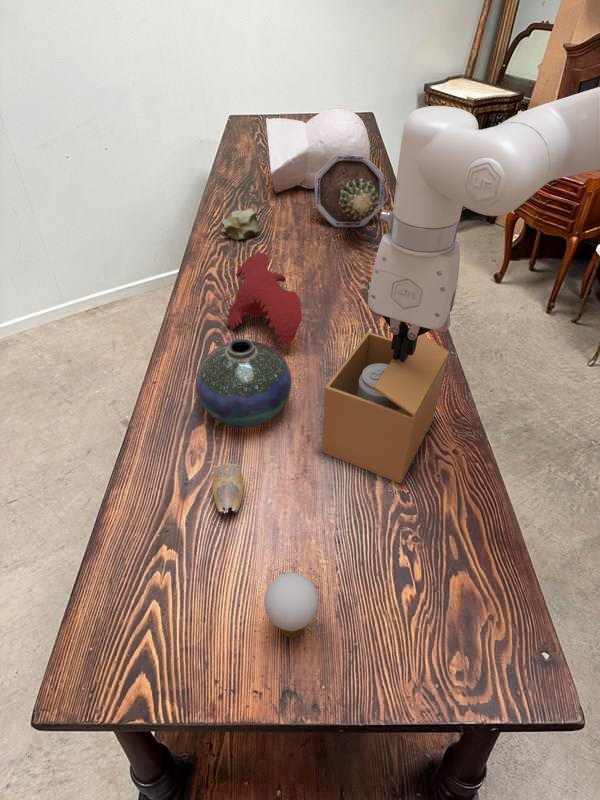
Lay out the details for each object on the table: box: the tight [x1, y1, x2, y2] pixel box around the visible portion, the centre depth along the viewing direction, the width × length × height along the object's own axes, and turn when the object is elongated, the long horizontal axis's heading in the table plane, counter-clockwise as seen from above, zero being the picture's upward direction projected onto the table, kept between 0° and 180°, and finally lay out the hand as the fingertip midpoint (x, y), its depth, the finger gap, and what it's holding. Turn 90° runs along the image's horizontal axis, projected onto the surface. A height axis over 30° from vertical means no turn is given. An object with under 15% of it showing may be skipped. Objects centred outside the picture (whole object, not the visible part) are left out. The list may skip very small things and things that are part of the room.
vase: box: [195, 338, 293, 429], centre depth 86 cm, size 15×15×13 cm
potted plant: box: [314, 154, 385, 229], centre depth 135 cm, size 18×18×30 cm
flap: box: [373, 334, 450, 416], centre depth 75 cm, size 6×15×1 cm, turn 151°
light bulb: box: [263, 572, 319, 639], centre depth 60 cm, size 6×6×10 cm
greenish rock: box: [221, 207, 263, 241], centre depth 136 cm, size 9×9×8 cm
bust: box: [265, 107, 371, 194], centre depth 154 cm, size 30×22×24 cm
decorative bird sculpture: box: [226, 252, 303, 346], centre depth 107 cm, size 28×9×15 cm
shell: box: [212, 462, 244, 515], centre depth 76 cm, size 8×4×5 cm, turn 14°
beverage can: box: [357, 363, 399, 411], centre depth 82 cm, size 6×6×12 cm
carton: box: [321, 331, 449, 484], centre depth 82 cm, size 13×15×14 cm
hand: (402, 355), depth 74 cm, fingers closed
